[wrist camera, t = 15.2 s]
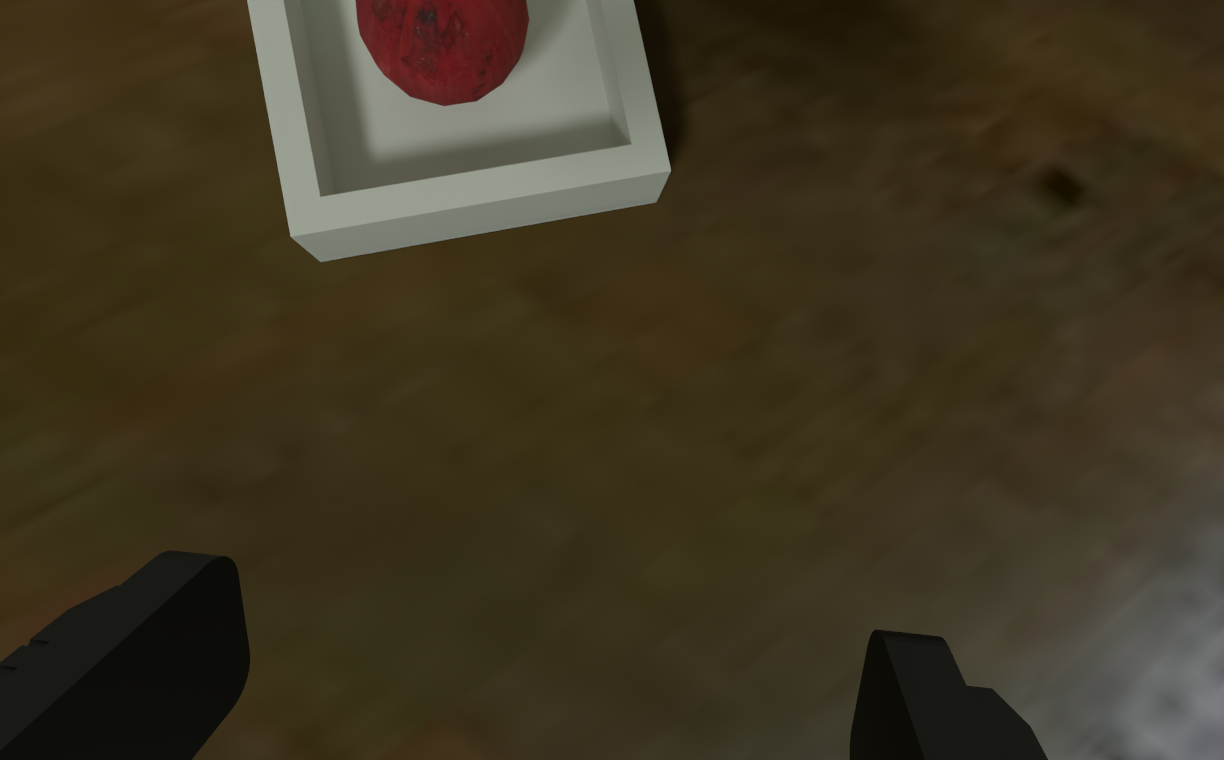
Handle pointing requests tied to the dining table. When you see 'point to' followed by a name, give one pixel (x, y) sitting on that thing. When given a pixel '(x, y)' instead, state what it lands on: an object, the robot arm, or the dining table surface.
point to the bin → (456, 130)
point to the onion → (444, 45)
